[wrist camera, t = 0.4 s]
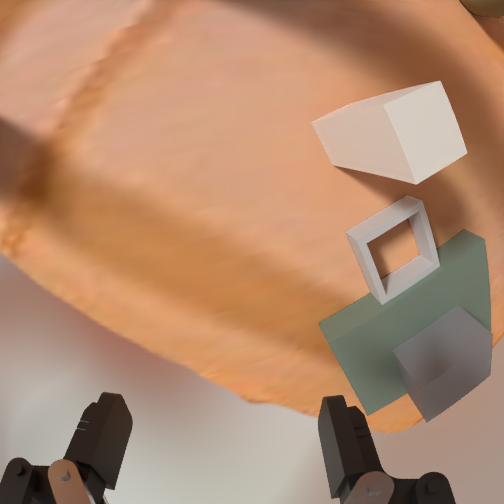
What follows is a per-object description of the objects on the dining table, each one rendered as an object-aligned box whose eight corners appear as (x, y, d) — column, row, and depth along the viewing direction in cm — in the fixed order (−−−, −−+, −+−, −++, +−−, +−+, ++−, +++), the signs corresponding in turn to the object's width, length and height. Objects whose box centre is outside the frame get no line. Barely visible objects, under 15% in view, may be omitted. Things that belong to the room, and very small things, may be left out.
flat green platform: (285, 265, 30) (314, 325, 20) (448, 169, 28) (518, 185, 18) (358, 396, 38) (385, 453, 28) (475, 317, 36) (519, 355, 26)
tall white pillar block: (310, 122, 26) (383, 104, 13) (349, 103, 25) (440, 80, 12) (332, 165, 27) (416, 184, 14) (370, 145, 27) (467, 153, 14)
